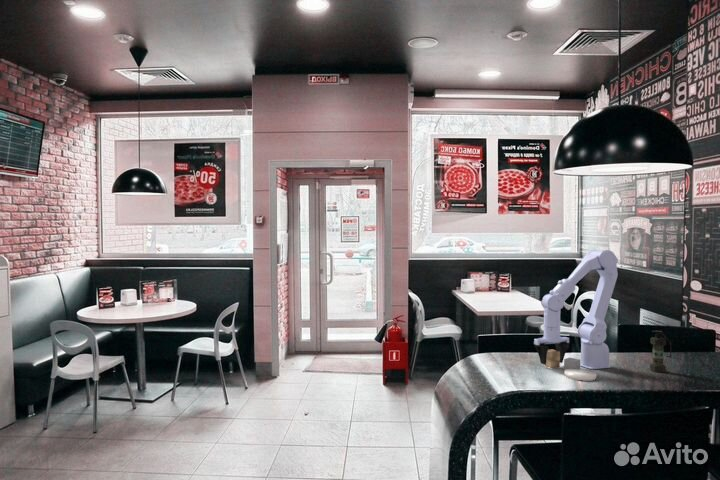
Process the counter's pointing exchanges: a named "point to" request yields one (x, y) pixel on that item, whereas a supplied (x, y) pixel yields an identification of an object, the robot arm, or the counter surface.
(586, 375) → the coaster
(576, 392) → the counter surface
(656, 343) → the grenade
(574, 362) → the grey block
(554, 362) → the oak block
